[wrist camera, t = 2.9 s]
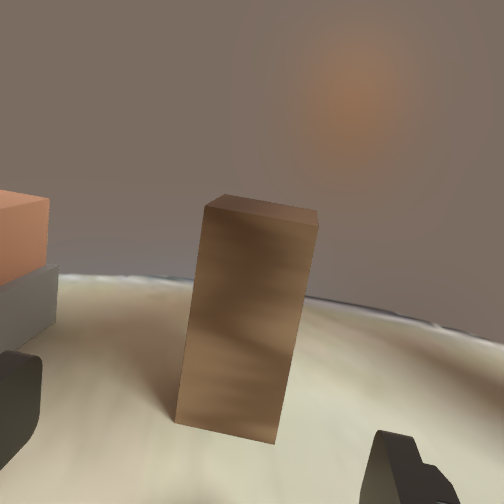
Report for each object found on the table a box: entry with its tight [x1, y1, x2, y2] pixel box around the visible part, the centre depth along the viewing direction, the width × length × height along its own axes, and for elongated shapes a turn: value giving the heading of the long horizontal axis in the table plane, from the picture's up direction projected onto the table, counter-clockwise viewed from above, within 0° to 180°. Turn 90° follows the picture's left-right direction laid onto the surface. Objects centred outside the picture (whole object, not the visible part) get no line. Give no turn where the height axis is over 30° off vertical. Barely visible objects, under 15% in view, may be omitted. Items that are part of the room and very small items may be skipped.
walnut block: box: [174, 194, 319, 445], centre depth 22 cm, size 5×5×10 cm
